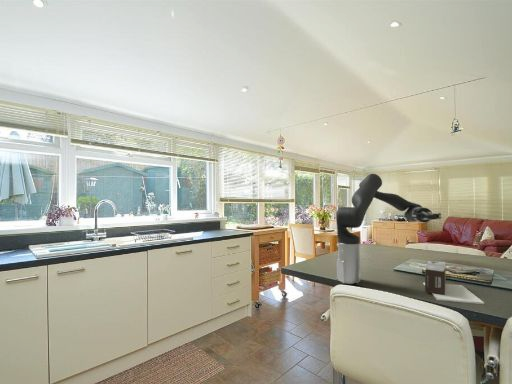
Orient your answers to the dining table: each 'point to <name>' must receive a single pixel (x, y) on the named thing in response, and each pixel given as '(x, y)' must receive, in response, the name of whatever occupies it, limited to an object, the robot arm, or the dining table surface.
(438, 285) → the coffee box
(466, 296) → the white flat rectangular board
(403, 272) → the dining table surface
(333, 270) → the dining table surface
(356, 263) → the robot arm
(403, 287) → the dining table surface
